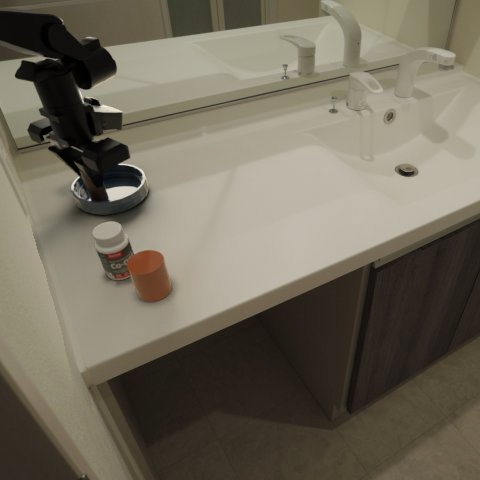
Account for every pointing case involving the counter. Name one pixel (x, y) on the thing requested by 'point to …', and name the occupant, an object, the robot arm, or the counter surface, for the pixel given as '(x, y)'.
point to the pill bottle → (113, 249)
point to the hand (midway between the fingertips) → (94, 183)
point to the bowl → (114, 190)
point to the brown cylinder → (94, 190)
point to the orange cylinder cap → (149, 275)
